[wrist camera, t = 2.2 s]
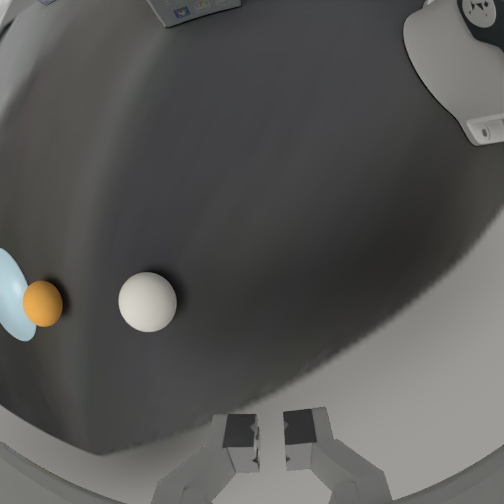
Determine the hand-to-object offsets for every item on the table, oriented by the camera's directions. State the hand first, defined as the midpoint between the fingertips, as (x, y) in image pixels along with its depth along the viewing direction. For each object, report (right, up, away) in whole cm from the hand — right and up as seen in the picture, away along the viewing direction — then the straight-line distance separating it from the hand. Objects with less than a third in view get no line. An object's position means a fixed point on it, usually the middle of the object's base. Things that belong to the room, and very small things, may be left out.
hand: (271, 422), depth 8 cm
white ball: (-9, +2, +13) cm, 16 cm away
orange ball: (-23, +1, +14) cm, 27 cm away
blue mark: (-35, 0, +17) cm, 39 cm away
